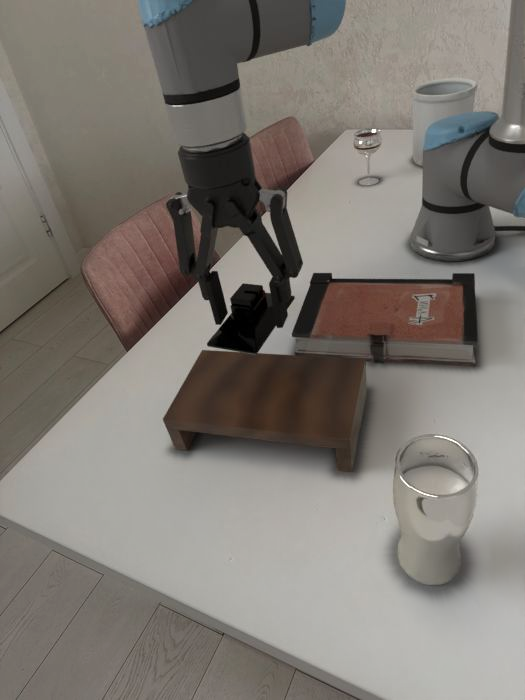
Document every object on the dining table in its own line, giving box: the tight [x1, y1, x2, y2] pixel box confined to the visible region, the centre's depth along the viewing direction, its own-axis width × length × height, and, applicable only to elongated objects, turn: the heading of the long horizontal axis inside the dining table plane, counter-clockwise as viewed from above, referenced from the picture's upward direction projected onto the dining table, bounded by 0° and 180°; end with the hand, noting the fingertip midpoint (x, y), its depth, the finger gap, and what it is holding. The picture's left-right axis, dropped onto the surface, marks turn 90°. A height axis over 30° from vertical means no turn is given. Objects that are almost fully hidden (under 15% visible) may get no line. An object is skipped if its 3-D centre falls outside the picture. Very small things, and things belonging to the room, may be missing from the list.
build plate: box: [206, 282, 296, 355], centre depth 64 cm, size 12×7×5 cm, turn 155°
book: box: [291, 272, 479, 367], centre depth 79 cm, size 26×18×5 cm
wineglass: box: [353, 127, 383, 186], centre depth 124 cm, size 7×7×12 cm
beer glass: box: [392, 433, 480, 586], centre depth 46 cm, size 7×7×15 cm
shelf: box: [162, 349, 368, 473], centre depth 67 cm, size 24×14×6 cm, turn 74°
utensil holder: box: [411, 77, 478, 167], centre depth 126 cm, size 15×15×18 cm
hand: (251, 319), depth 65 cm, fingers closed on build plate, 8 cm apart
